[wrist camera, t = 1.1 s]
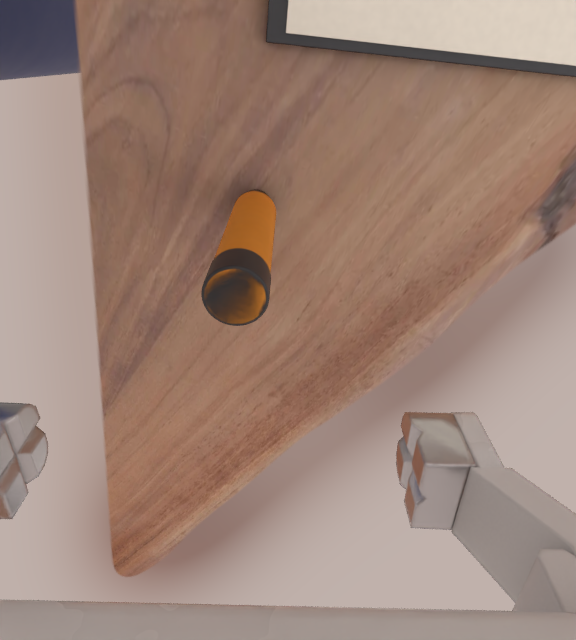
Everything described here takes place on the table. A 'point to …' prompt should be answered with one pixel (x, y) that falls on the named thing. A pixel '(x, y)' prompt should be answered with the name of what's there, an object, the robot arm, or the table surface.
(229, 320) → the marker
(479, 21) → the clipboard
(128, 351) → the table surface
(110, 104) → the table surface
